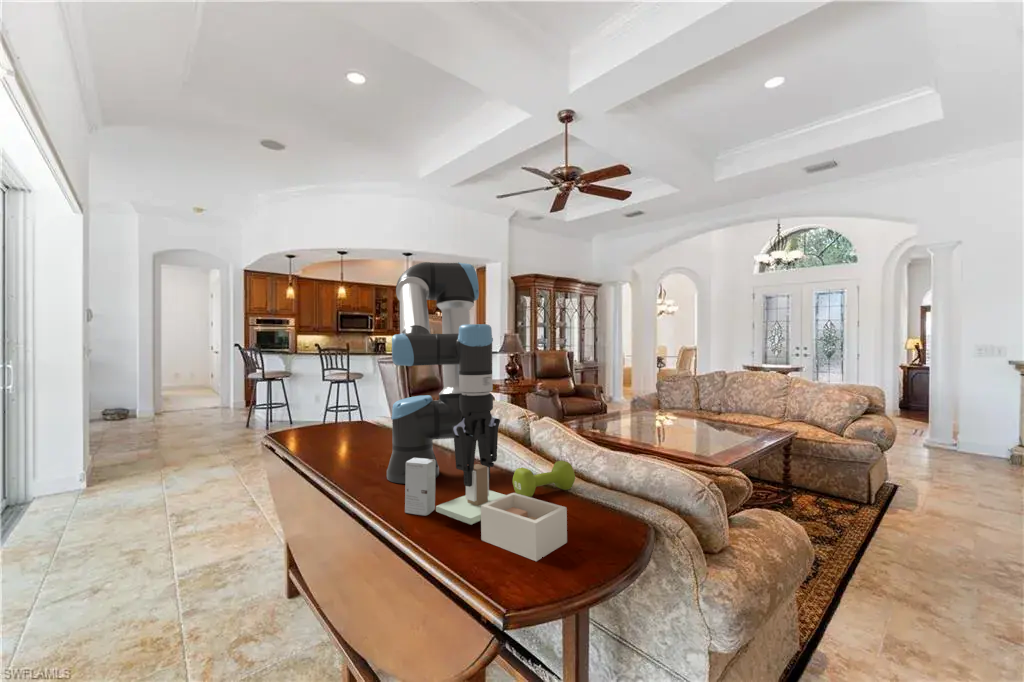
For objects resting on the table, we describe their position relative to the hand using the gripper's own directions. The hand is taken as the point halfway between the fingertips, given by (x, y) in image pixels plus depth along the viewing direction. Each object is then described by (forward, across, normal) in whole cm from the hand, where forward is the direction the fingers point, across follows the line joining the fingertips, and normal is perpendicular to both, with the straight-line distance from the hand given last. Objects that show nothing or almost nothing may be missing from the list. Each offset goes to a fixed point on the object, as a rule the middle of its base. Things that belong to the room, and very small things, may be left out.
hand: (477, 497), depth 104 cm
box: (+5, -2, -15) cm, 16 cm away
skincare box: (+5, -5, +14) cm, 16 cm away
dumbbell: (+5, +24, -1) cm, 25 cm away
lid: (+4, 0, 0) cm, 4 cm away
